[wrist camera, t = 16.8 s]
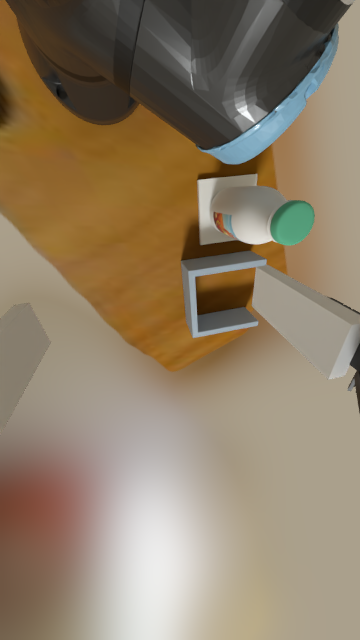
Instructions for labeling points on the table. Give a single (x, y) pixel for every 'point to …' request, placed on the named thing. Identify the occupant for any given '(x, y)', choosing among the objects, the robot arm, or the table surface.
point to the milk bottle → (260, 215)
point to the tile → (205, 198)
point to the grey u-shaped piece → (221, 319)
